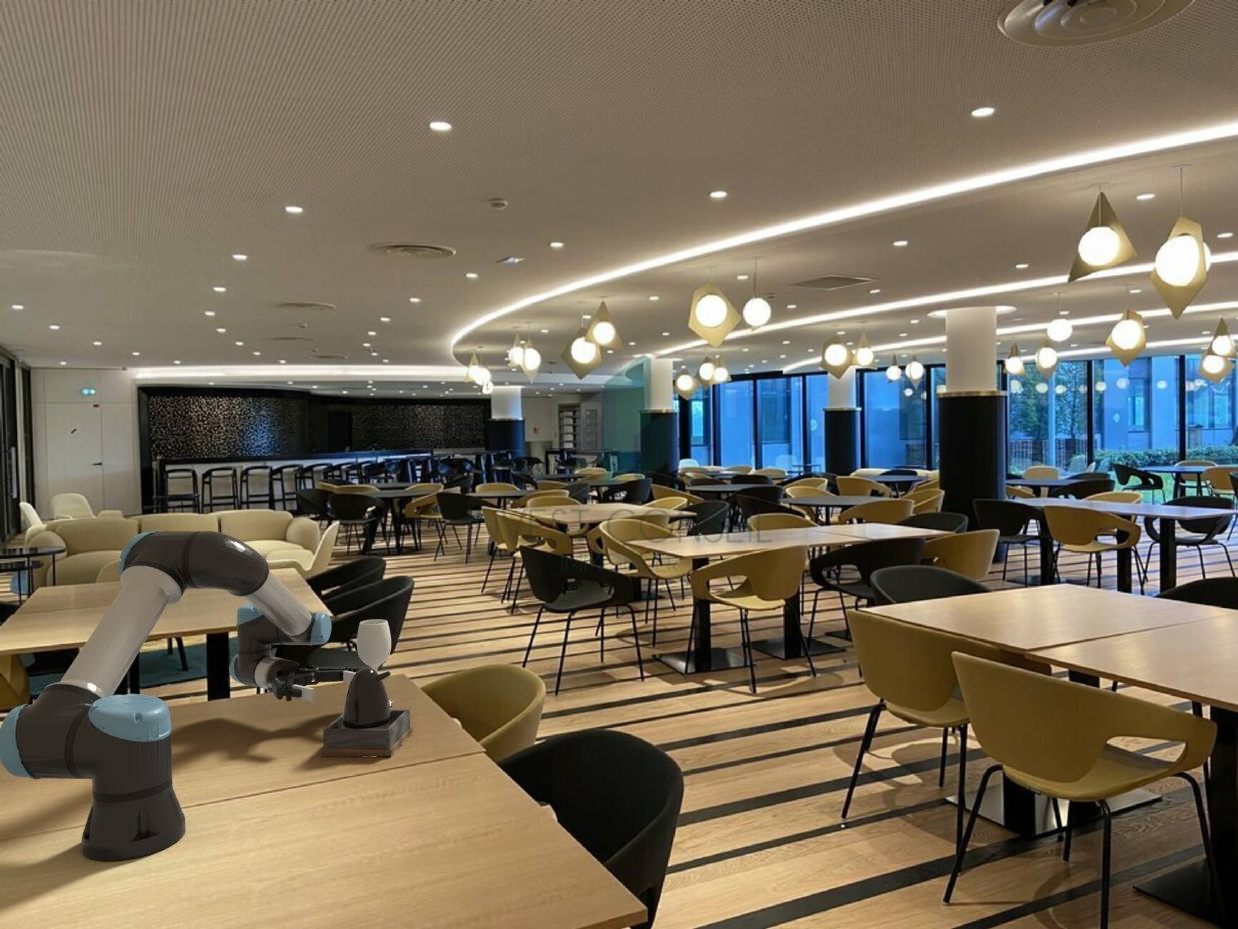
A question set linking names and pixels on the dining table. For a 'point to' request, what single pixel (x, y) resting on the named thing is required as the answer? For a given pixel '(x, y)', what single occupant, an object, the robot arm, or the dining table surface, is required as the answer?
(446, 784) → the dining table surface
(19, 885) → the dining table surface
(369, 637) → the wineglass
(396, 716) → the holder
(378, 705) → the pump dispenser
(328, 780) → the dining table surface
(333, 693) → the dining table surface
